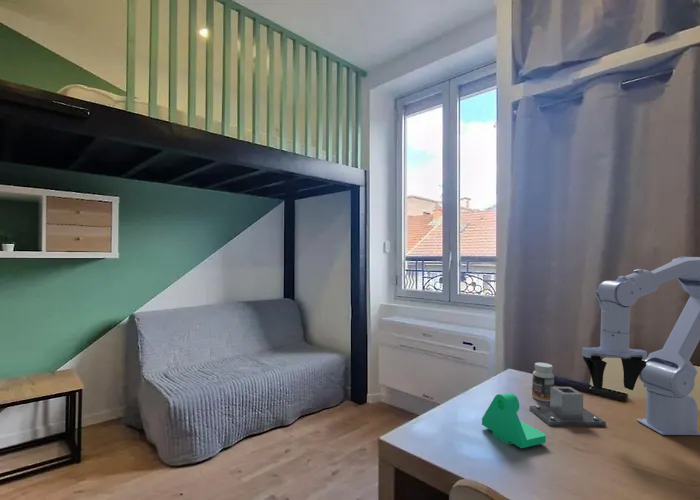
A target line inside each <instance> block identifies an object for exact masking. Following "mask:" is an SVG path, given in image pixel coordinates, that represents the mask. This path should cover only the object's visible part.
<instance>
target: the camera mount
mask: <svg viewBox="0 0 700 500" xmlns="http://www.w3.org/2000/svg"><path fill="white" fill-rule="evenodd" d="M519 401H520V400H519V399H518V397H517V396H516V395H515V394H514V393H512V392H505V393H504V392H503V393H498V394H496V395H495V396H494V397H493V399H492V401H491V402H490V404H489V406H488V408H487V409H486V410H485V412H484V414H483V416H482V418H481V426H484V427H485V428H487V429H488V430H490V431H492V436H493V437H495V438H497V439H498V440H500V441H502V442H503V443H505V444H506V445H508V446H510V445H513V444H514V445H515V446H517V447H519V448H520V449H524V448H528V447H529V448H530V447H533V446H538V445H542V444H545V443H546V433H544V432H543V431H540V430H539V429H536V428H534V427H533V426H531V425H529V424H527V423H525V422H523V421H521V420H520V418H519V416H518V412H519V409H520V402H519Z"/></svg>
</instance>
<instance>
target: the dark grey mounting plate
mask: <svg viewBox="0 0 700 500" xmlns="http://www.w3.org/2000/svg"><path fill="white" fill-rule="evenodd" d="M529 411H530V412H532V413H533V414H534V415H536V416H537V417H539V419H541V420H542V421H543V422H544V423H546V424H547V425H548V426H549V427H606V426H607V422H606V421H605V420H603V419H602V418H600V417H599V416H597V415H595V414H593V412H591V411H589V410H587V409H585V408H584V407H583V418H561V417H560V416H558V415H557V414H556V413H554V412H553V411H552V410H550V405H538V404H536V405H529Z"/></svg>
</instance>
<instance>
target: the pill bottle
mask: <svg viewBox="0 0 700 500" xmlns="http://www.w3.org/2000/svg"><path fill="white" fill-rule="evenodd" d="M534 369H535V370H533V372H532V381H531V382H532V386H531V388H532V389H531V396H532V398H533V399H535V400H537V401H539V402H544V403H545V402H547V403H548V402H549V403H550V387H555V375H554V373H553V372H552V371H553V369H554V367H553V365H552V364H550V363H546V362H535V363H534Z"/></svg>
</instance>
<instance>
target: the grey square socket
mask: <svg viewBox="0 0 700 500" xmlns="http://www.w3.org/2000/svg"><path fill="white" fill-rule="evenodd" d="M549 406H550V410H552V411H553V412H554V413H556V414H557V415H558V416H560V417H561V418H583V408H584V393H582V392H581V391H578V390H577V389H575V388H573V387H571V386H554V387H550V402H549Z"/></svg>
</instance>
